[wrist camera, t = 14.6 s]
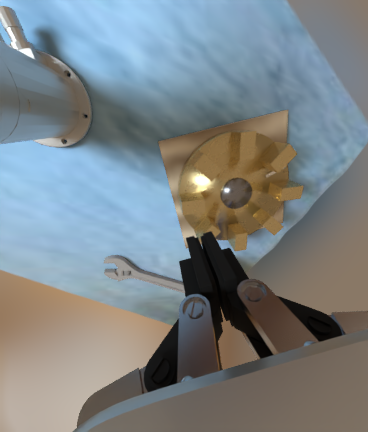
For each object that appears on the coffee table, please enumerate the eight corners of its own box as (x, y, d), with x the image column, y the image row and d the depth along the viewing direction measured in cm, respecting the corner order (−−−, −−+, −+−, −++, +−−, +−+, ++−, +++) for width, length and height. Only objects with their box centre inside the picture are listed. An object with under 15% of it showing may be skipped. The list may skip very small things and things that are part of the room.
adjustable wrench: (195, 284, 52) (196, 289, 50) (182, 298, 54) (183, 304, 52) (110, 250, 43) (109, 255, 41) (99, 269, 45) (97, 275, 43)
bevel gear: (204, 249, 44) (212, 267, 38) (156, 168, 34) (157, 176, 28) (290, 205, 42) (311, 218, 36) (266, 105, 32) (290, 101, 26)
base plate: (158, 141, 33) (158, 141, 32) (282, 110, 34) (288, 109, 33) (185, 244, 44) (186, 248, 43) (278, 219, 45) (283, 222, 44)
